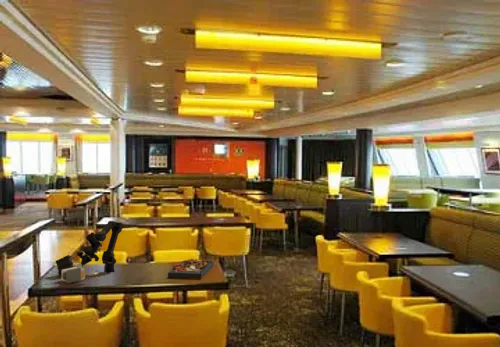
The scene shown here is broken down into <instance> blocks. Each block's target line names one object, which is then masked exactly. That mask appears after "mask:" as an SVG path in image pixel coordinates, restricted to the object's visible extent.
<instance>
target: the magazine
mask: <svg viewBox="0 0 500 347" xmlns="http://www.w3.org/2000/svg"><path fill="white" fill-rule="evenodd" d="M71 257H72V256H71V255H70V254H68V255H65V256H63V257H61V258H59V259H57V260H55V263H54V264H55V265H56V266H57V267H56V269H57V270H58V272H57V274H58V276H59V275H60V276H61V277H62V271H61V270H63V269H68V268H73V267H74V262H73V261H72V258H71Z"/></svg>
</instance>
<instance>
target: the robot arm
mask: <svg viewBox="0 0 500 347" xmlns="http://www.w3.org/2000/svg"><path fill="white" fill-rule="evenodd" d="M123 228H124V224H123V223H122V222H121V221H114V220H108V221H107V223H106V225H104V227H103V228H102V229H101V230H99V231H97V232H95V233H94V232H90V233H88V234H87V235H86V237H85V240H86V241H87V242H88V243H89V244H90V245H87V246H85V245H81V246H80V248H79V251H77V252H76V253H75V254H76V255H77V256H78V257H79V259H81V261H80V264H82V267H83V266H85V265H87V264H89V263H91V262H93V260H94V262H98V261H99V260H100V257H99V255H98V254H97V253H98V250H99V248H103V243H102V242H105V240H106V238H107V234H108V233H110V232H111V235H110V238H109V242H108V245H107V249H106V250H103V253H102V255H101V261H102V264H104V266H103V272H105V273H106V274H107V273H114V272H116V270H115V265H116V263H117V259H116V257H115V253H114V251H115V247H116V244H117V240H118V237H119V234H120V233H121V232H122V231H123Z"/></svg>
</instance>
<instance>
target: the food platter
mask: <svg viewBox="0 0 500 347" xmlns="http://www.w3.org/2000/svg"><path fill="white" fill-rule="evenodd" d="M171 264H172V267H171V269H170V270H169V271H168V272H167V278H168V277H174V278H173V279H185V278H202V277H203V276H204V275H205V274H206V273H207V272H208V271H209V270H210V269H211V268H212V267H213V266H214V267H215V261H214V260H206V259H205V258H204V259H201V260H198V259H197V258H195V259H194V258H188V259H184V260H182V261H180V262H179V263H176V264H175V265H174V263H171ZM214 267H213V268H214ZM213 268H212V269H213ZM212 269H211V270H212ZM211 270H210V271H211ZM210 271H209V272H210ZM209 272H208V273H209ZM208 273H207V274H208ZM207 274H206V275H207ZM206 275H205V276H206ZM205 276H204V277H205ZM204 277H203V278H204ZM203 278H202V279H203Z"/></svg>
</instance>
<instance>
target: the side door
mask: <svg viewBox="0 0 500 347" xmlns="http://www.w3.org/2000/svg"><path fill="white" fill-rule="evenodd" d="M76 267H77V268H76V269H71V270H67V271H66V281H65V282H66V284H71V283H74V282H75V283H76V282H79V281H82V280H81V268H83V266H82V264H81V262H79V263H78V262H77V263H76Z"/></svg>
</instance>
